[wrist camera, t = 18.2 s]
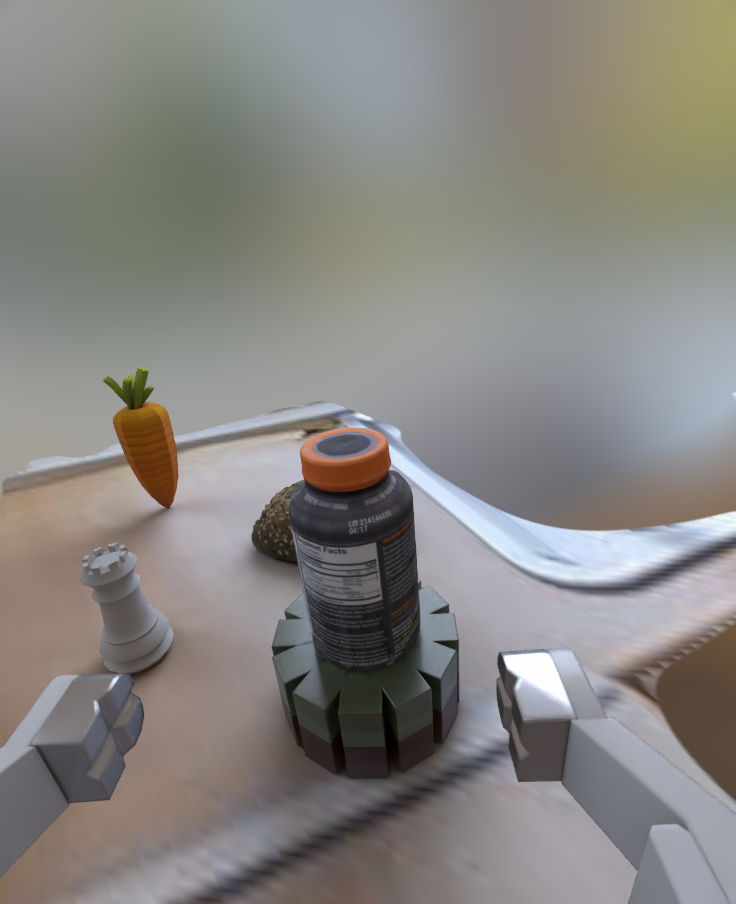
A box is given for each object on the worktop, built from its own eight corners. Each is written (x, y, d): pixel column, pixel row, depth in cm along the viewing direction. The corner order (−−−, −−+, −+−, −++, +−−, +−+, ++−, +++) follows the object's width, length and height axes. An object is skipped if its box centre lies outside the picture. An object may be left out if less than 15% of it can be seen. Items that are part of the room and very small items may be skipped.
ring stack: (327, 820, 22) (314, 754, 20) (265, 667, 30) (251, 609, 28) (495, 716, 26) (497, 652, 24) (399, 606, 34) (395, 551, 32)
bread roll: (235, 553, 42) (223, 504, 39) (309, 487, 51) (303, 445, 49) (364, 587, 36) (359, 533, 34) (420, 506, 46) (418, 460, 44)
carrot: (132, 516, 49) (84, 376, 43) (166, 493, 53) (126, 362, 47) (170, 522, 47) (125, 377, 41) (202, 497, 51) (165, 362, 45)
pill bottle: (379, 579, 30) (363, 408, 25) (444, 635, 25) (439, 440, 20) (293, 624, 27) (257, 441, 22) (349, 698, 22) (318, 486, 17)
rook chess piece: (100, 648, 33) (58, 554, 29) (165, 616, 35) (134, 526, 32) (112, 691, 29) (67, 590, 26) (184, 653, 32) (151, 556, 28)
